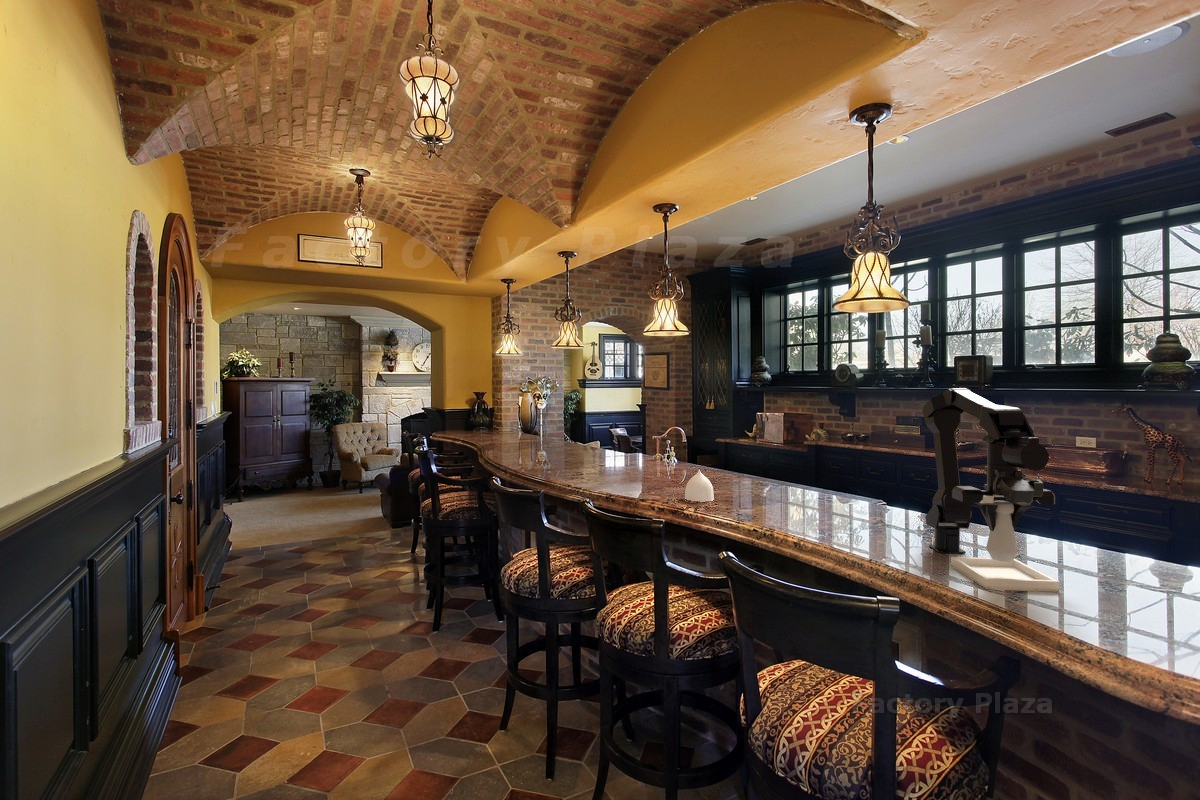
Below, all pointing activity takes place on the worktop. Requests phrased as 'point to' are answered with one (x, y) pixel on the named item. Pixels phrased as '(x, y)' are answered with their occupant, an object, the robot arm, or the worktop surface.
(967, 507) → the robot arm
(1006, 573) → the tray
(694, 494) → the teardrop
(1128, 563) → the worktop surface
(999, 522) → the salt shaker
